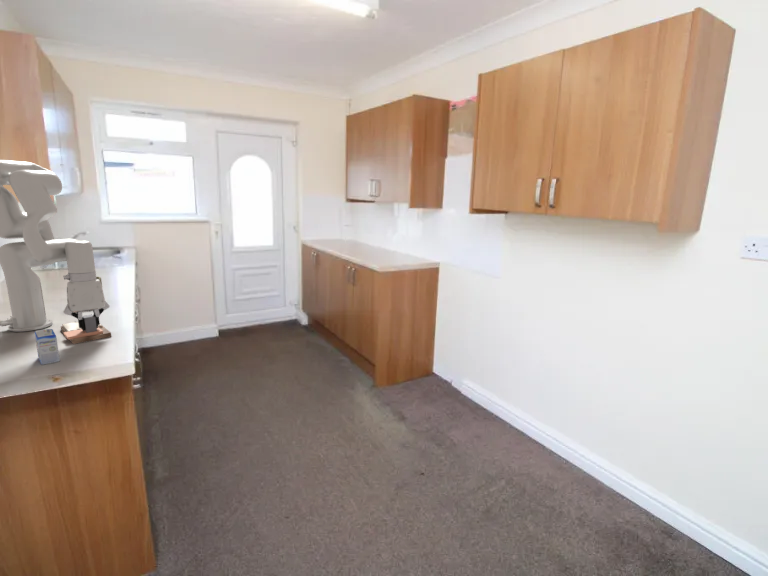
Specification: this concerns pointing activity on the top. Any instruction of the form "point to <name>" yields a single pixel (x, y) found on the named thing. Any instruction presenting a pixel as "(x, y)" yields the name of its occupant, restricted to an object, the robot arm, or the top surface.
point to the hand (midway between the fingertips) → (89, 328)
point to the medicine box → (47, 346)
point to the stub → (90, 329)
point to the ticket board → (75, 326)
